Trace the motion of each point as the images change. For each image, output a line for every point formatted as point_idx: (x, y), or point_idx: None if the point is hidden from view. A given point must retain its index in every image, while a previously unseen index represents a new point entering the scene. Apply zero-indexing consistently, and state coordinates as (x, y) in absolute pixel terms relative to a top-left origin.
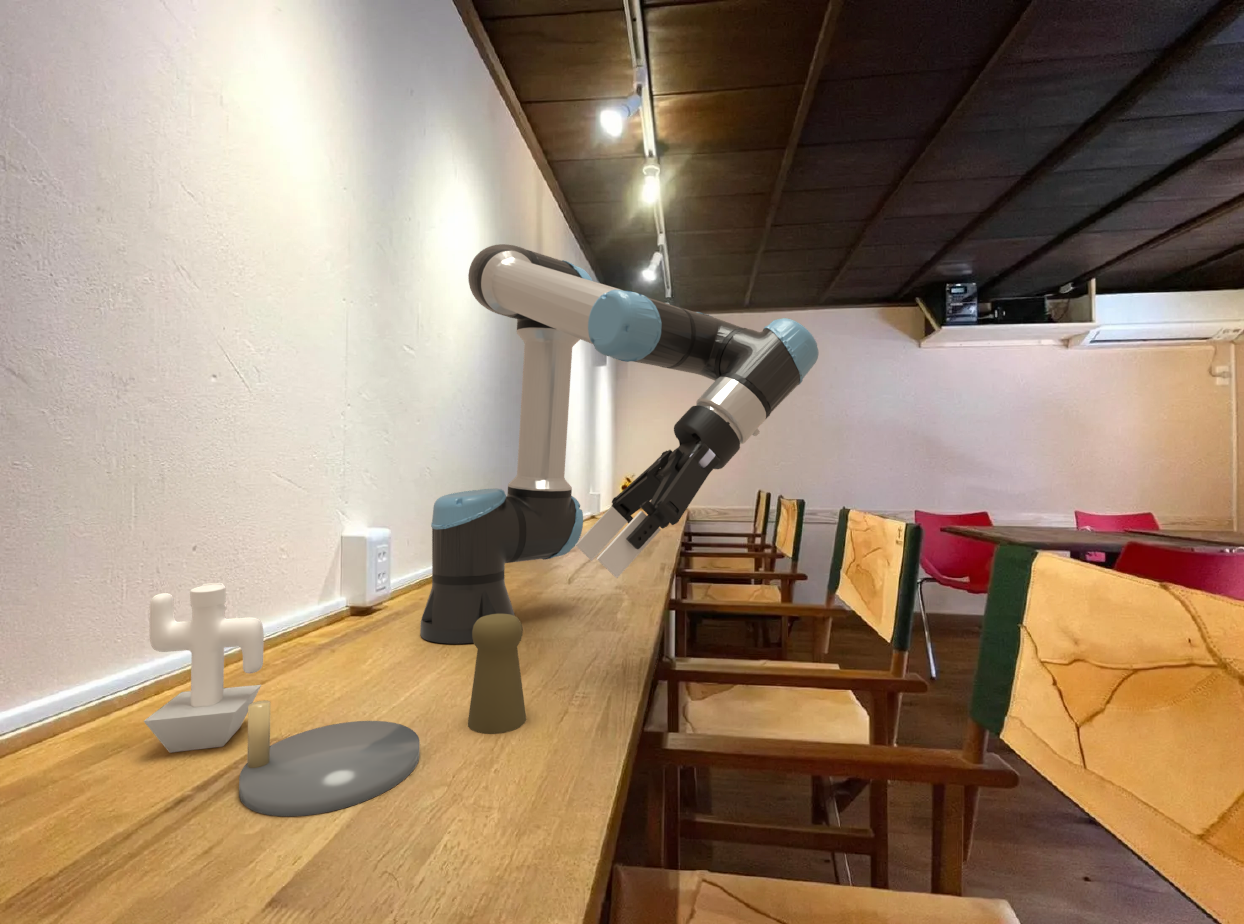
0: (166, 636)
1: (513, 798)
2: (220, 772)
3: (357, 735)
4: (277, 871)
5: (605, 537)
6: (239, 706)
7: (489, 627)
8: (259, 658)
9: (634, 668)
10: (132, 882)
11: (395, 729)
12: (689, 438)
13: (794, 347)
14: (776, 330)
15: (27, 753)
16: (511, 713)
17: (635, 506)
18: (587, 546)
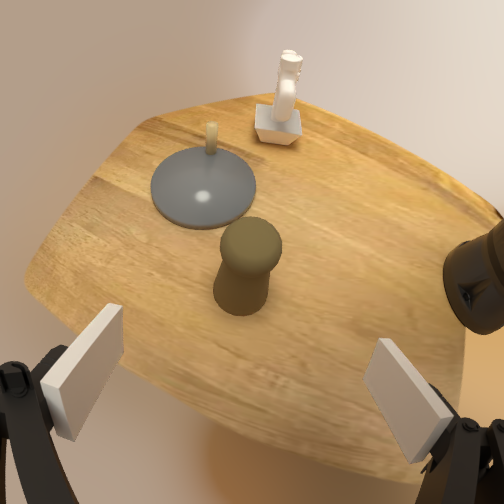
0: (278, 72)
1: (110, 277)
2: (226, 144)
3: (228, 190)
4: (114, 175)
5: (389, 405)
6: (263, 128)
7: (227, 227)
8: (280, 113)
9: (342, 458)
10: (140, 138)
11: (229, 210)
12: None
13: None
14: None
15: None
16: (217, 292)
17: (423, 490)
18: (378, 364)
